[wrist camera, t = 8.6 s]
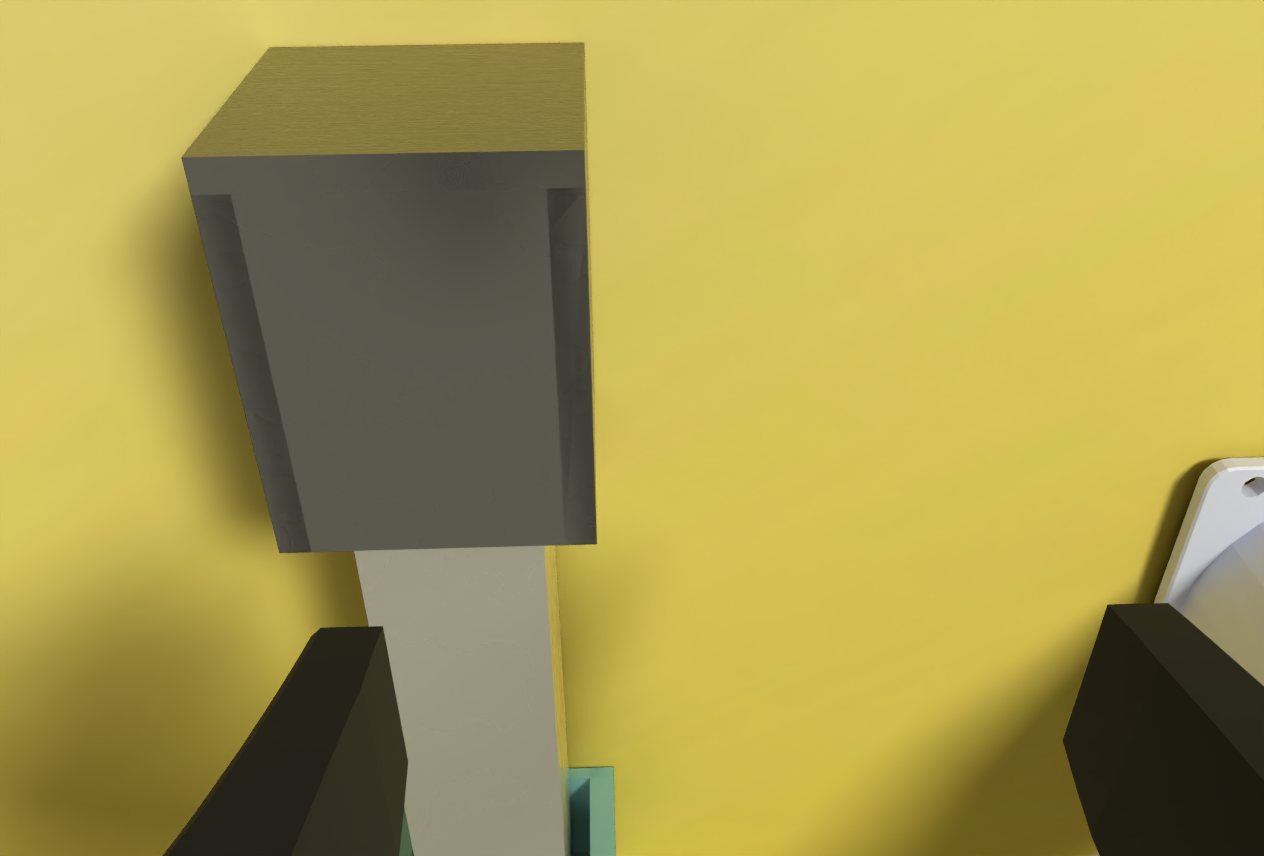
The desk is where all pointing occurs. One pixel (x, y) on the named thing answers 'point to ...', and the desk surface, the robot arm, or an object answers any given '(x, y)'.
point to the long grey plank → (477, 695)
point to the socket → (576, 813)
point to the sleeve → (409, 291)
